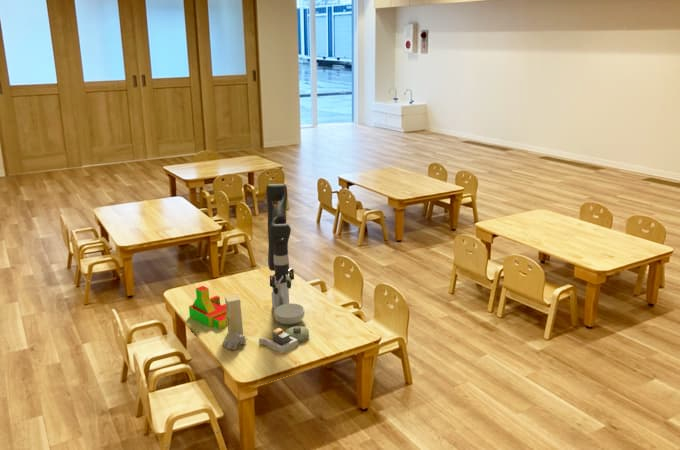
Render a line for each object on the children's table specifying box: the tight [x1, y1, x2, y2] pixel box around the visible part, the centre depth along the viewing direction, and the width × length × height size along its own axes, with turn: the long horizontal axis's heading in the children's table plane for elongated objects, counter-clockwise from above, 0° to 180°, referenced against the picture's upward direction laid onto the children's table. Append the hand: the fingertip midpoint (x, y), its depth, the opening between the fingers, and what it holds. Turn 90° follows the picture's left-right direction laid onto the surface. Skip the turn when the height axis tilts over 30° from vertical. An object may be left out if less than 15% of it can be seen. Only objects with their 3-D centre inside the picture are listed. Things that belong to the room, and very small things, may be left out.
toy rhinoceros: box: [222, 331, 248, 350], centre depth 307 cm, size 7×12×8 cm, turn 127°
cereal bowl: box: [273, 302, 305, 326], centre depth 332 cm, size 17×17×7 cm
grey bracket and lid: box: [258, 325, 310, 354], centre depth 313 cm, size 16×24×5 cm
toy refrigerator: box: [224, 294, 244, 336], centre depth 317 cm, size 8×7×21 cm
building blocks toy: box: [188, 285, 228, 330], centre depth 336 cm, size 19×25×18 cm
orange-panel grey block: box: [272, 327, 290, 346], centre depth 308 cm, size 8×4×7 cm, turn 46°
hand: (282, 290), depth 309 cm, fingers open, 8 cm apart
